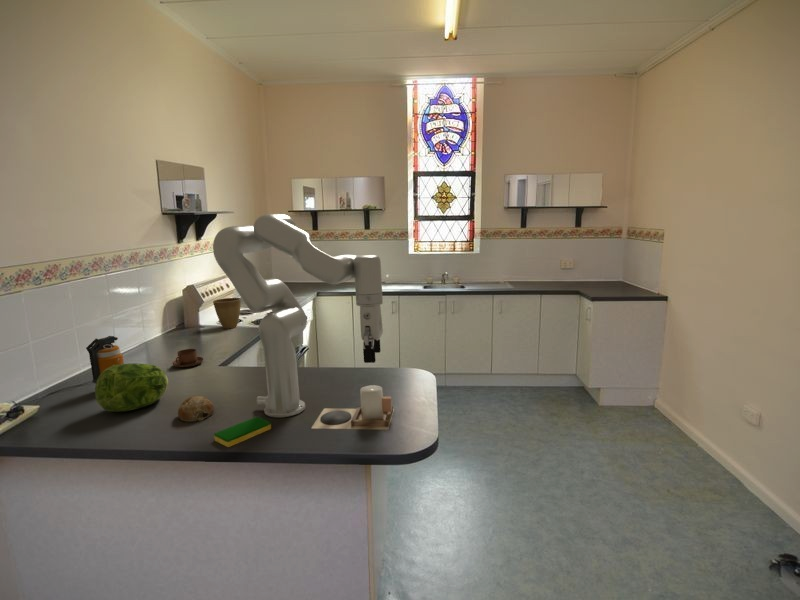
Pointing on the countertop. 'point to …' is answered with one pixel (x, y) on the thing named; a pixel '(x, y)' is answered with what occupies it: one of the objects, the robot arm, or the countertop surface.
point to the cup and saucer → (187, 358)
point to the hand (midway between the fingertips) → (372, 357)
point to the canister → (103, 355)
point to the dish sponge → (242, 431)
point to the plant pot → (228, 311)
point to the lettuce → (130, 386)
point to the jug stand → (350, 420)
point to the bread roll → (195, 409)
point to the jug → (374, 403)
